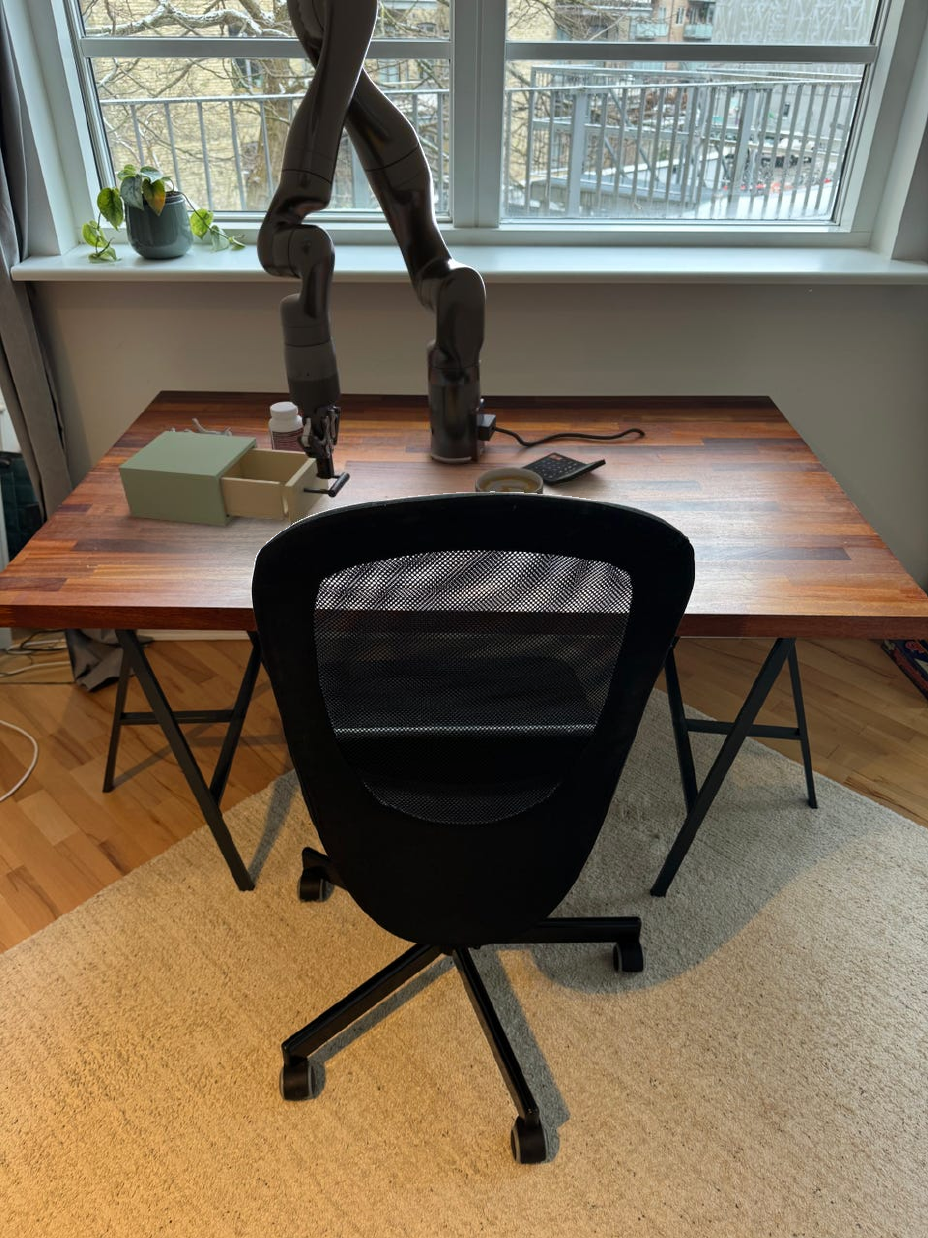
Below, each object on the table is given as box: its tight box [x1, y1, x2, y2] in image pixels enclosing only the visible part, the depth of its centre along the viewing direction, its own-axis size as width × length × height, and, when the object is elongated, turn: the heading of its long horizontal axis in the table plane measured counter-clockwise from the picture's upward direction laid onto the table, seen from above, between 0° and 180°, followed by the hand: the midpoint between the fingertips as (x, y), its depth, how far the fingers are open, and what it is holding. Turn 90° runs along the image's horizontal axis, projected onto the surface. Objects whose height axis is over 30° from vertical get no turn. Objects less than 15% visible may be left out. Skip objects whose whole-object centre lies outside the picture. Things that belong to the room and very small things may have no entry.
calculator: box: [521, 452, 607, 487], centre depth 152 cm, size 9×12×3 cm
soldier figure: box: [170, 417, 233, 436], centre depth 166 cm, size 8×5×12 cm
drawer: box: [219, 448, 351, 526], centre depth 143 cm, size 21×14×7 cm, turn 76°
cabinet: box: [117, 430, 259, 527], centre depth 146 cm, size 17×15×9 cm
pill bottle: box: [267, 401, 309, 459], centre depth 156 cm, size 6×6×11 cm
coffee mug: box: [474, 467, 544, 495], centre depth 133 cm, size 13×10×10 cm
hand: (326, 476), depth 140 cm, fingers closed
